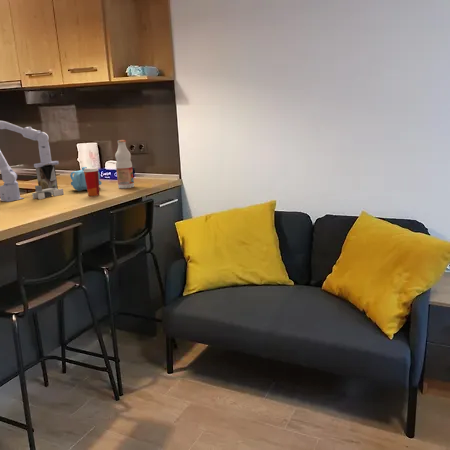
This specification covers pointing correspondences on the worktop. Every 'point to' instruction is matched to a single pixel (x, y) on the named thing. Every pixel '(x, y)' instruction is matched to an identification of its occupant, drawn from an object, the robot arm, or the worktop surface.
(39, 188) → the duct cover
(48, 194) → the gray block
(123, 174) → the fruit juice
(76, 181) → the decorative pot
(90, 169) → the coffee cup
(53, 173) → the coffee box
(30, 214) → the worktop surface
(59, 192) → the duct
